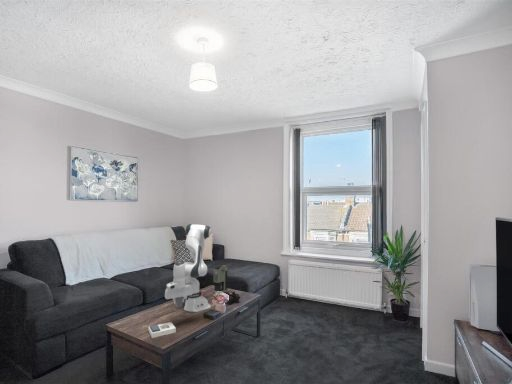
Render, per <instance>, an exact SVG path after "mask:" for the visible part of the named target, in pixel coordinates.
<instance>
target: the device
mask: <svg viewBox="0 0 512 384" xmlns="http://www.w3.org/2000/svg"><path fill="white" fill-rule="evenodd" d="M228 270H229V267H228V266H227V265H226V264H222V263H221V264H215V265H214V267H213V283H214V291H213V295H214V294H215V293H216V292H217V291H222V292H228Z"/></svg>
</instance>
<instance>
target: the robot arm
mask: <svg viewBox="0 0 512 384" xmlns="http://www.w3.org/2000/svg"><path fill="white" fill-rule="evenodd" d="M211 229H212V228H211V226H209V225H204V224H197V223H196V224H192V223H189V224H187V225H186V227H185V231H184V232H185V234H186V238H185V243H184V245H185V247H186V248H187V250H189V256H190V257H191V258H192V259H193V262H191V261H183V260H180V261H176V262H174V264H173V269H172V270H173V271H172V274H173V279H172V281H171V282H168V283H166V288H165V291H164V298H165V299H166V300H170V299H172V301H173V304H174V305H176V302H177V301H176V298H177V297H182V303H184V306H183V307H184V308H183V310H184V311H185V312H191V313H192V312H193V313H198V312H201V311H204V310H207V309H208V310H209V309H211V308H212V307H211V304H210V303H209V301H208V298H206V297H205V296H204V292H203V291H201V290H200V281H199V279H197V278H199V277H205V276H206V275H207V274H208V266H207V264H205V261H204V259H203V258H204V257H203V255H204V248H205V240H206V239H208V238H209V237H210V236H211V234H212V230H211Z"/></svg>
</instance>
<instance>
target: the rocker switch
mask: <svg viewBox="0 0 512 384" xmlns="http://www.w3.org/2000/svg"><path fill="white" fill-rule="evenodd" d="M182 299H183V297H177V298H175V301H177V302H176V304H174V305H175V307H176V308H182V307H183V302H182Z"/></svg>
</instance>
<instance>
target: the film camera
mask: <svg viewBox="0 0 512 384" xmlns="http://www.w3.org/2000/svg"><path fill="white" fill-rule="evenodd" d="M227 291H228V290H227ZM224 293H226V294H228V295H229V301H228V302H227V304H226V305H232V304H239V303H240V299H241V296H240V295H239V293H238V292H235V291H234V290H229V291H228V292H224Z"/></svg>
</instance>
